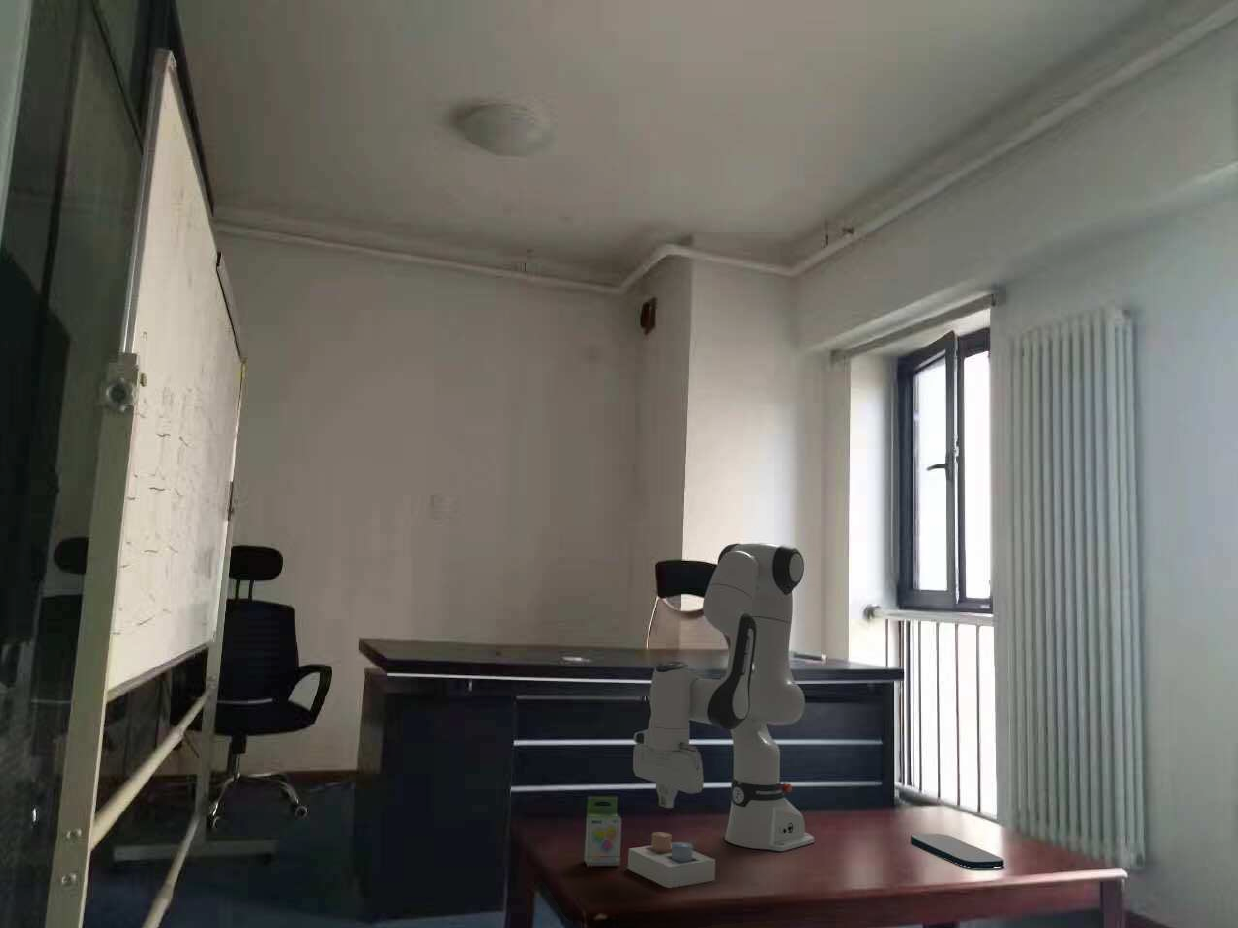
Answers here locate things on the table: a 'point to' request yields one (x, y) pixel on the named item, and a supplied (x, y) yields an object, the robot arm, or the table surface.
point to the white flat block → (670, 867)
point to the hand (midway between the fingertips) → (666, 806)
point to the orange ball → (661, 843)
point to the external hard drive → (956, 851)
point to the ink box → (602, 833)
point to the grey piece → (682, 852)
